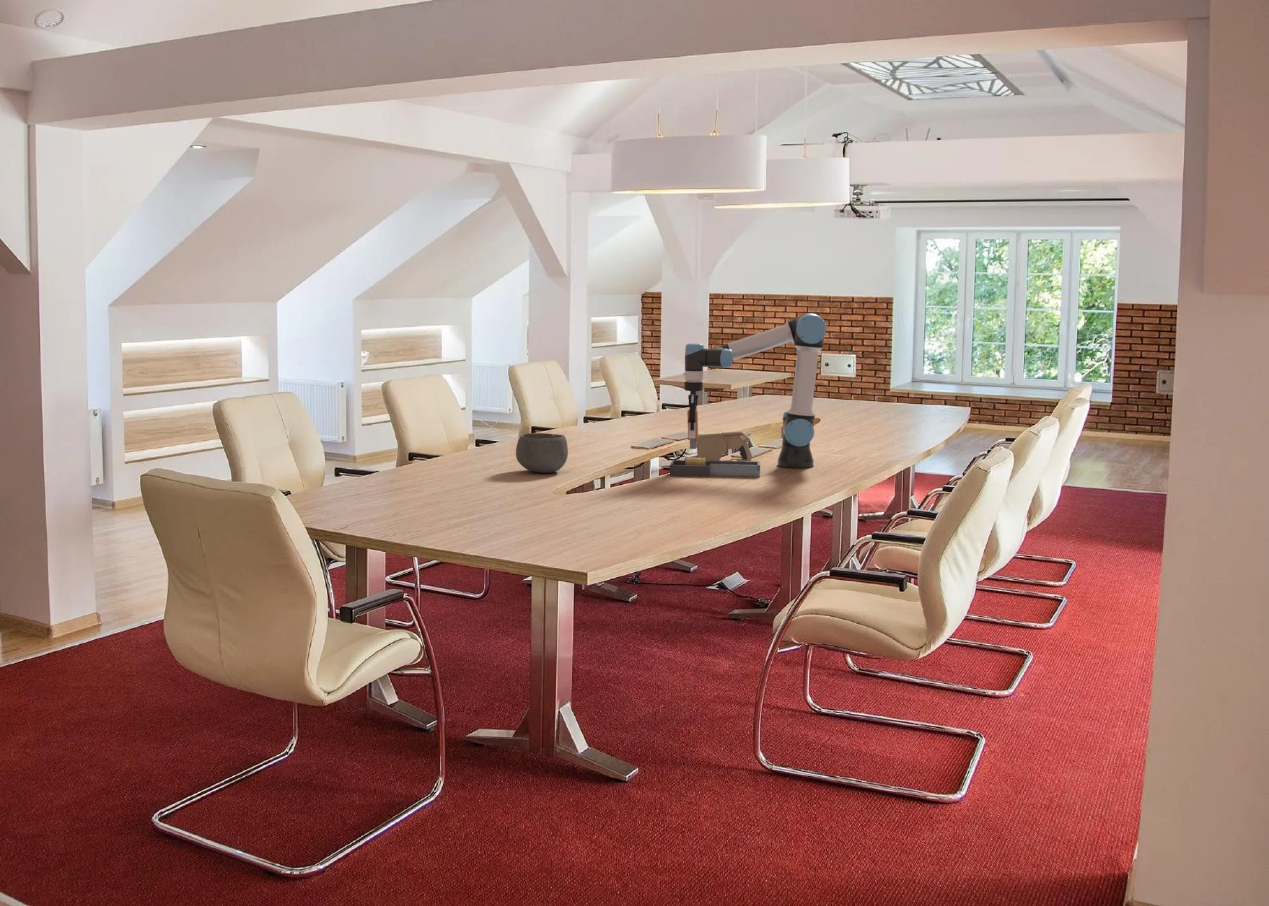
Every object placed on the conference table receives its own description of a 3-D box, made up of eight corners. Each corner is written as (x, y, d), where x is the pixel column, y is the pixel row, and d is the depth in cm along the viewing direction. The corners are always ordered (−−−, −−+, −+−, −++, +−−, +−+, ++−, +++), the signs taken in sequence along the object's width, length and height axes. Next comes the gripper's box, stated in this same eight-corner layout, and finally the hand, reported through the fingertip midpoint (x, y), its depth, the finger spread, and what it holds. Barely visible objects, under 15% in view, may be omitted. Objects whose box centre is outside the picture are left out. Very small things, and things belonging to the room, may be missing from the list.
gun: (752, 465, 516) (750, 430, 514) (752, 466, 513) (750, 431, 511) (695, 468, 519) (692, 434, 517) (695, 470, 516) (692, 435, 514)
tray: (711, 470, 501) (711, 460, 500) (709, 476, 487) (709, 466, 486) (672, 470, 502) (672, 459, 502) (669, 475, 488) (669, 465, 488)
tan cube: (705, 467, 495) (705, 457, 495) (705, 469, 491) (705, 459, 491) (695, 467, 496) (695, 457, 495) (695, 468, 492) (695, 459, 491)
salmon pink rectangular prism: (698, 446, 508) (697, 409, 506) (697, 448, 501) (696, 411, 499) (689, 446, 509) (688, 409, 506) (688, 448, 502) (687, 411, 500)
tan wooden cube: (695, 467, 496) (695, 457, 496) (695, 468, 492) (695, 458, 492) (685, 466, 497) (686, 457, 496) (685, 468, 493) (685, 458, 492)
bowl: (506, 473, 490) (506, 436, 487) (532, 466, 508) (532, 430, 506) (552, 477, 481) (552, 440, 479) (577, 470, 500) (577, 434, 498)
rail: (759, 472, 497) (760, 461, 496) (759, 477, 486) (760, 465, 486) (710, 471, 499) (711, 460, 498) (709, 475, 489) (709, 464, 488)
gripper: (685, 379, 510) (684, 434, 513) (683, 382, 493) (681, 439, 496) (703, 379, 509) (702, 434, 512) (701, 383, 492) (700, 440, 496)
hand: (692, 437), depth 504 cm, fingers closed on salmon pink rectangular prism, 4 cm apart
